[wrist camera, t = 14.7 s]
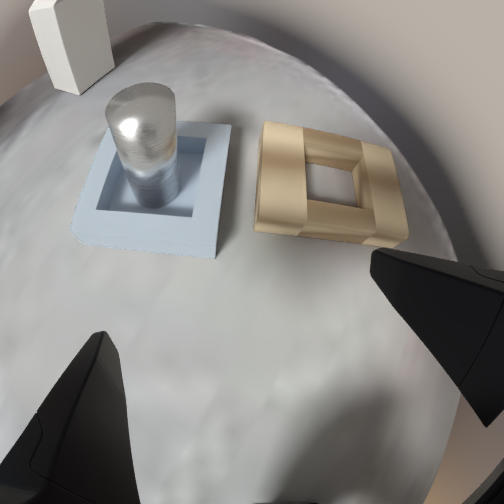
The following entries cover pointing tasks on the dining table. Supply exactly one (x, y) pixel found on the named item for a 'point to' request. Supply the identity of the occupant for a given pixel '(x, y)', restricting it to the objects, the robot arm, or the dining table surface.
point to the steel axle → (147, 141)
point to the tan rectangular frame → (322, 213)
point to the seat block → (160, 219)
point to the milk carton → (73, 41)
